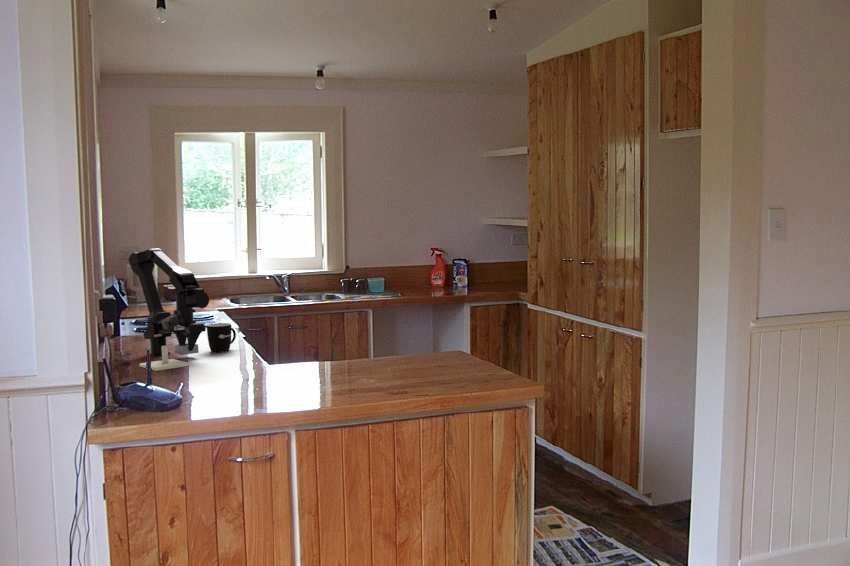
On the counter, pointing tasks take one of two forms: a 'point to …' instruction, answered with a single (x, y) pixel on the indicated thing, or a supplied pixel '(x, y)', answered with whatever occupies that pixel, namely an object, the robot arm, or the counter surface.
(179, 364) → the peg board
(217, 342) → the mug
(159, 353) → the robot arm
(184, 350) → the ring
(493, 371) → the counter surface
